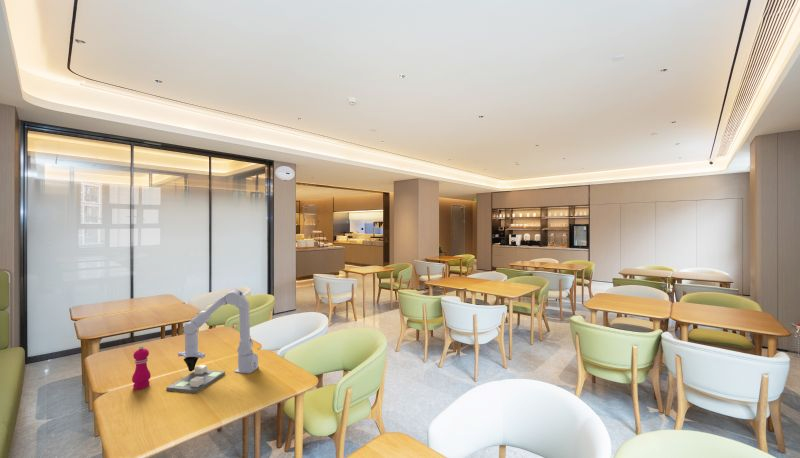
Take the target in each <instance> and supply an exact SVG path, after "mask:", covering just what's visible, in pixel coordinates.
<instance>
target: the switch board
mask: <svg viewBox="0 0 800 458" xmlns="http://www.w3.org/2000/svg"><path fill="white" fill-rule="evenodd" d="M225 375H226V371H223V370H211V369H207V372H205V373H203V374H202V375H201V374H195V370H193V371H192V372H190V373H189V374H187V375H186V376H184V377H182V378H180V379H178V380H177V381H175V382H173V383H171V384H170V385H168V386H166V391H168V392H169V391H170V392H178V393H179V392H181V393H187V394H188V393H190V394H197V393H199V392H200V391H202V390H204V389H206V387H208V386H210V385H211V384H213V383H214V382H216V381H218V380H219V379H220V378H222V377H224V376H225ZM196 376H197V377H204V383H203V384H202V385H200V386H199V387H191V386H190V380H191V379H193V378H195V377H196Z"/></svg>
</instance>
